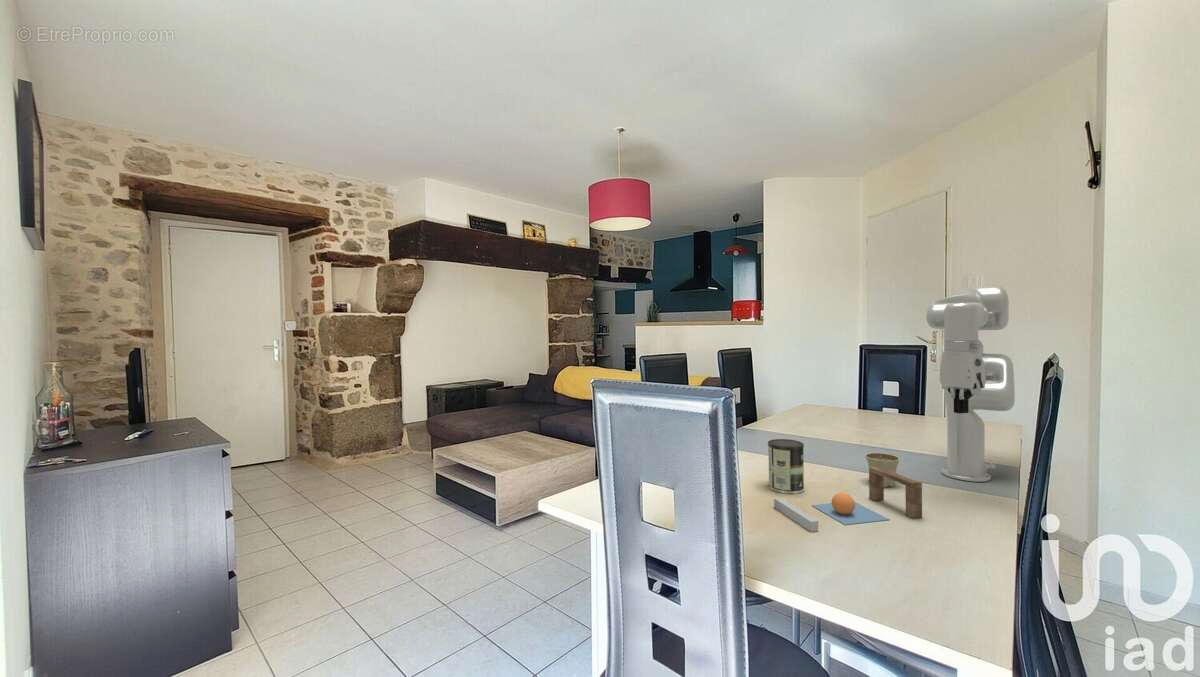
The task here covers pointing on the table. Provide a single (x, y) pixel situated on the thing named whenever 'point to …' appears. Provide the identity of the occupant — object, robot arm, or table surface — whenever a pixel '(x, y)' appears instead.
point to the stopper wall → (796, 514)
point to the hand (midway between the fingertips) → (961, 412)
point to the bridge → (911, 485)
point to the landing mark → (851, 514)
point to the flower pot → (883, 464)
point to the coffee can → (786, 466)
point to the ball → (843, 503)
